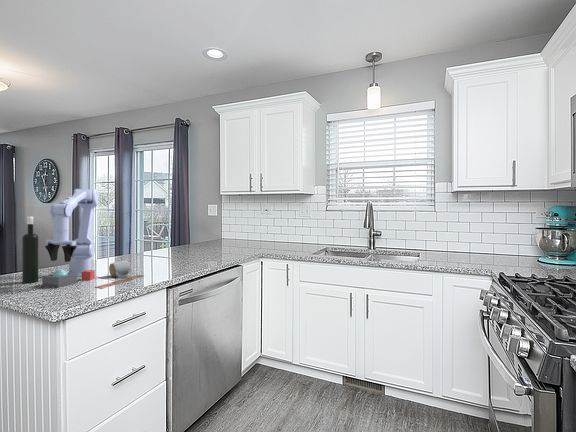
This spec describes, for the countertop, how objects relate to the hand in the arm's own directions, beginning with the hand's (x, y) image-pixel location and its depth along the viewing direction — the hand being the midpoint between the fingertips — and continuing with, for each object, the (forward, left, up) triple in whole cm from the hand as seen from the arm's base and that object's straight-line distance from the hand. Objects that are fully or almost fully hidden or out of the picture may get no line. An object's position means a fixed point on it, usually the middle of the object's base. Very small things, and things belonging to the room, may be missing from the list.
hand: (60, 261), depth 145 cm
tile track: (+20, +14, -11) cm, 27 cm away
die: (+3, +12, -11) cm, 16 cm away
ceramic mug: (+12, +23, -11) cm, 28 cm away
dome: (0, 0, -8) cm, 8 cm away
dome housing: (0, 0, -11) cm, 11 cm away
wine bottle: (-16, -1, -11) cm, 20 cm away
